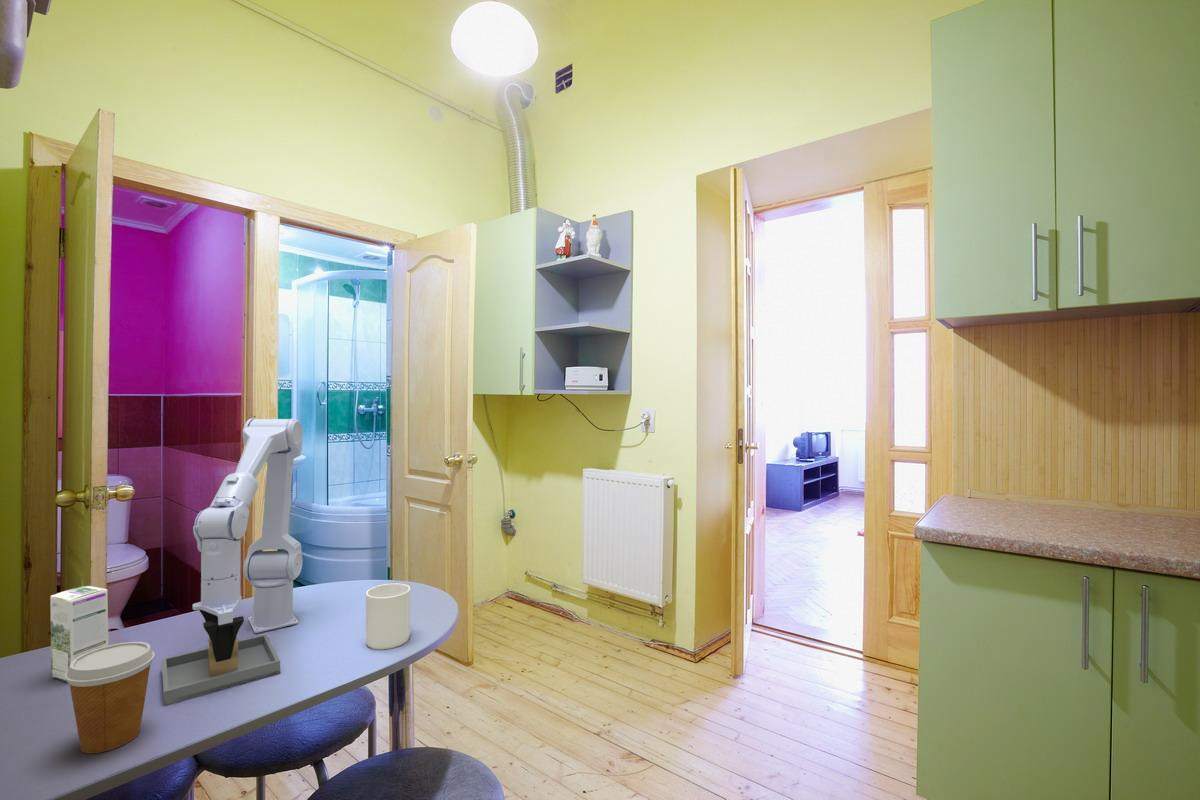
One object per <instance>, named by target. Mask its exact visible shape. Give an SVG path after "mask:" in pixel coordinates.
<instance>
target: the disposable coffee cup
mask: <svg viewBox="0 0 1200 800" xmlns="http://www.w3.org/2000/svg"><path fill="white" fill-rule="evenodd" d="M155 655H156V654H155V651H153V650H152V647H151V645H150V644H149V643H147V642H145V641H128V642H120V643H114V644H110V645H108V646H105V647H102V648H99V649H95V650H92V651H90V652H87V653H85V654H83V655H81V656H79V657H77V658H76V659H74V660H73V661H72V662H71V663H70V666H69V669H68V671H67V672H66V673H65V679H66V680H67V684H68V685H69V688H70V689H69V690H70V696H71V699H72V700H71V701H72V706H73V712H74V717H75V722H76V728H77V730H76V731H77V733H78V740H79V746H80V751H81V752H83V753H86V754H98V753H104V752H107V751H112V750H114V749H117V748H119V747H122V746H123V745H125V744H128V743H130V742H131V741H133V740H134V739H136V737H138V735H139V734H140V732H141V727H142V721H143V720H142V719H143V714H144V708H145V702H146V697H147V695H146V694H147V688H148V682H149V675H150V671H151V670H150V669H151V664H152V663H153V660H154V658H155ZM132 739H133V740H132ZM129 741H130V742H129Z"/></svg>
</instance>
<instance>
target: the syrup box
mask: <svg viewBox="0 0 1200 800" xmlns="http://www.w3.org/2000/svg"><path fill="white" fill-rule="evenodd" d="M108 592H109V591H108V589H107V588H103V587H97V586H93V585H85V586H83V585H82V586H79V587H74V588H70V589H67V590H64V591H60V592H57V593H56V594H52V595H50V602H49V603H50V664H51V666H50V667H51V668H50V669H51V671H50V677H51V678H53V679H57V680H60V681H63V682H67V680H66V679H65V673H66V672H67V671H68V669H69V666H70V663H71V662H72V661H73V660H74V659H76V658H77V657H79V656H81V655H83V654H85V653H87V652H90V651H92V650H95V649H99V648H102V647H105V646H109V605H108V604H109V603H108V600H109V599H108V598H109V597H108ZM67 683H68V682H67Z"/></svg>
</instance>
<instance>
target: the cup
mask: <svg viewBox="0 0 1200 800" xmlns="http://www.w3.org/2000/svg"><path fill="white" fill-rule="evenodd" d="M410 635H411V587H410V586H409V585H408V584H406V583H396V582H395V583H383V584H379V585H376V586H373V587H370V588H369V589H368V590H366V592H365V642H366V645H367V647H369V648H370V649H374V650H389V649H394V648H398V647H400V646H402V645H403V644H405V643H406V642H408V640H409V639H410Z"/></svg>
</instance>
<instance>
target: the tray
mask: <svg viewBox="0 0 1200 800" xmlns="http://www.w3.org/2000/svg"><path fill="white" fill-rule="evenodd" d="M280 674H281V660H280V657H279V656H278V654H277V651H276V650H275V648H274V646H273V644H272V642H271V640H270V639H269V636H268V635H267V634H266V633H265V634H260V635H256V636H253V637H248V638H244V639H240V640H239V639H238V669H236V670H232V671H229V672H225V673H221V674H217V675H213V676H210V673H209V668H208V647H206V648H200V649H197V650H193V651H189V652H185V653H180V654H176V655H173V656H168V657H163V658H161V680H162V682H161V683H162V693H163V694H162V695H163V697H162V699H163V706H168V705H172V704H175V703H178V702H182V701H186V700H189V699H193V698H196V697H199V696H203V695H208V694H211V693H214V692H218V691H222V690H226V689H229V688H232V687H237V686H240V685H243V684H246V683H251V682H254V681H257V680H261V679H265V678H268V677H271V676H275V675H280Z"/></svg>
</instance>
